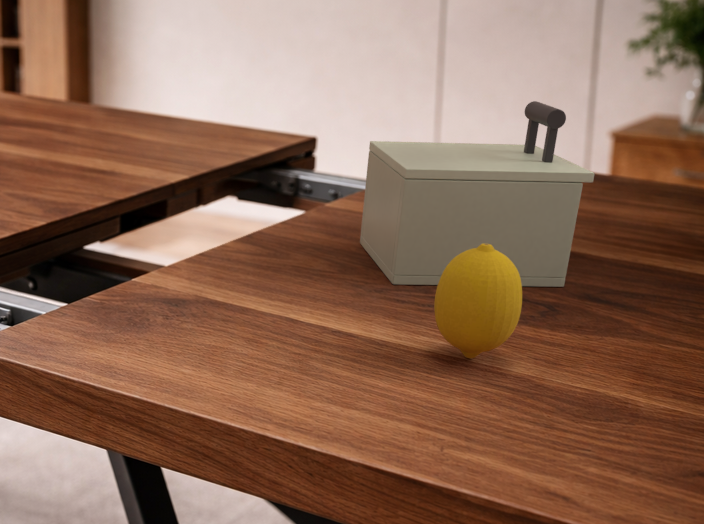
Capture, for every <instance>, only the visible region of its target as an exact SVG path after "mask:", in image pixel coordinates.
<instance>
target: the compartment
mask: <svg viewBox="0 0 704 524" xmlns="http://www.w3.org/2000/svg"><path fill="white" fill-rule="evenodd" d="M366 167H367V168H366V177H365V187H364V195H363V196H364V197H363V207H362V217H361V227H360V237H359V244H360V245H361V247H362V248H363V249H364V250H365V252H366V253H367V254H368V256H370V258H371V259H372V260H373V262H374V263H375V264H376V265H377V267H378V268H379V269H380V271H382V273H383V274H384V275H385V277H386V278H387V279H388V281H389V282H390V283H391V284H392V285H393V286H394V285H396V286H397V285H398V286H399V285H400V286H402V285H405V286H408V285H409V286H414V285H415V286H438V283H439V280H440V278H441V275H442V273H443V271H444V269H445V268H446V266H447V265H448V264H449V263H450V261H451V260H452V259H453V258H455V257H456V256H457V255H459V254H460V253H462V252H464V251H466V250H469V249H473V248H477V247H478V246H479V245H481V244H483V243H486V244H491V245H492V246H493V248H494V249H495V250H497V251H499V252H501V253H502V254H504V255H505V256H507V257H508V258H509V259H510V260H511V261H512V263H513V264H514V265H515V267H516V268H517V270H518V272H519V275H520V278H521V284H522V287H541V288H544V287H545V288H546V287H547V288H565V283H566V277H567V272H568V267H569V261H570V256H571V250H572V246H573V241H574V240H573V239H574V234H575V230H576V224H577V223H576V222H577V218H578V212H579V209H580V208H579V207H580V203H581V197H582V191H583V185H584V182H541V181H494V180H447V179H405V178H404V177H403V176H401V175H400V174H399V173H398V172H396V171H395V170H394V169H393V168H392V167H390V166H389V165H388V164H387V163H385V162H384V161H383V160H382V159H380V158H379V157H378V156H377V155H375V154H374V153H373V152H372V151H370V150H369V151H368V157H367V165H366Z"/></svg>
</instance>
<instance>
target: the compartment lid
mask: <svg viewBox="0 0 704 524" xmlns="http://www.w3.org/2000/svg"><path fill="white" fill-rule="evenodd" d="M524 116H525V117H526V119H527V120H528V122H527V128H526V136H525V140H524V141H525V142H524V144H515V143H514V144H511V143H505V144H504V143H473V142H472V143H470V142H467V143H466V142H465V143H464V142H427V141H424V142H423V141H422V142H421V141H388V140H387V141H386V140H385V141H384V140H383V141H382V140H380V141H379V140H370V141H369V147H368V150H369V151H372V152H373V153H374V154H375V155H377V156H378V157H379V158H380V159H382V160H383V161H384V162H385V163H387V164H388V165H389V166H390V167H392V168H393V169H394V170H395V171H396V172H398V173H399V174H400V175H401V176H403V177H404V178H405V179H447V180H494V181H541V182H581V183H589V184H591V183H594V179H595V172H593V171H591V170H589V169H587V168H585V167H582V166H581V165H579V164H577V163H574V162H571V161H570V160H567V159H565V158H563V157H561V156H559V155H557V154H555V149H556V144H557V138H558V132H559V129H560V128H562V127H563V126H564V125H565V123H566V121H567V115H566V113H565V111H564V110H562V109H559V108H557V107H555V106H551V105H548V104H546V103H543V102H540V101H537V100H533V101H530V102H529V103H528V104H526V106H525V108H524ZM539 125H542V126H545V127H546V133H545V137H544V144H543V148H541V147H539V146H538V145H536V144H537V137H538V132H539V127H540V126H539Z"/></svg>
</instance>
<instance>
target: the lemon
mask: <svg viewBox="0 0 704 524" xmlns="http://www.w3.org/2000/svg"><path fill="white" fill-rule="evenodd" d="M433 305H434V307H433V309H434V318H435V323H436V327H437V329H438V331H439V333H440V334H441V336H442V337H443V338H444V340H446V342H447V343H448V344H450V345H451V346H452V347H454V348H456V349H458V350H459V351H460V352H461V354H462V355H463V356H464V358H466V359H475V358H477V357H478V356H479V355H480V354H481V353H486V352H490V351H492V350H494V349H497V348H499V347H500V346H502V345H503V344H504V343H505V342H507V340H509V338H510V337H511V336H512V335H513V334H514V331H515V330H516V328H517V325H518V323H519V321H520V318H521V314H522V313H521V312H522V307H523V286H522V284H521V278H520V275H519V272H518V270H517V268H516V267H515V265H514V264H513V263H512V261H511V260H510V259H509V258H508V257H507V256H505V255H504V254H502V253H501V252H499V251H497V250H495V249H494V248H493V246H492V245H491V244H486V243H483V244H481V245H479V246H478V247H477V248H473V249H469V250H466V251H464V252H462V253H460V254H459V255H457V256H456V257H455V258H453V259H452V260H451V261H450V263H449V264H448V265H447V266H446V268H445V269H444V271H443V273H442V275H441V278H440V280H439V283H438V285H436V290H435V295H434V302H433Z"/></svg>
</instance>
